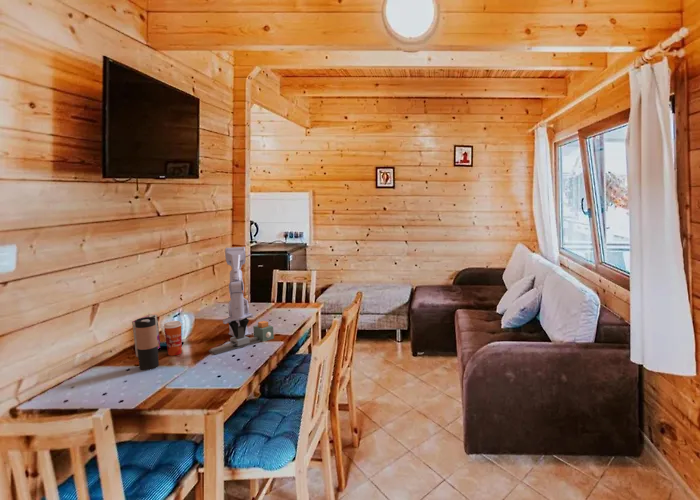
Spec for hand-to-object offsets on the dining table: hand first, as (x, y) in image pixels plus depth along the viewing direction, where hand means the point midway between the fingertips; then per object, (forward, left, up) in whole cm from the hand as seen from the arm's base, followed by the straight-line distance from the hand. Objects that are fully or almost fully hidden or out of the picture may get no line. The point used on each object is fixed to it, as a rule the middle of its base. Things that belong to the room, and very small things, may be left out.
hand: (239, 335), depth 200 cm
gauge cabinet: (0, +13, -5) cm, 14 cm away
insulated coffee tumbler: (-23, -33, -5) cm, 41 cm away
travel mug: (-5, -39, -5) cm, 40 cm away
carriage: (0, 0, -3) cm, 3 cm away
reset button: (0, +13, 0) cm, 13 cm away
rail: (0, -3, -5) cm, 5 cm away
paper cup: (-13, -25, -5) cm, 29 cm away
